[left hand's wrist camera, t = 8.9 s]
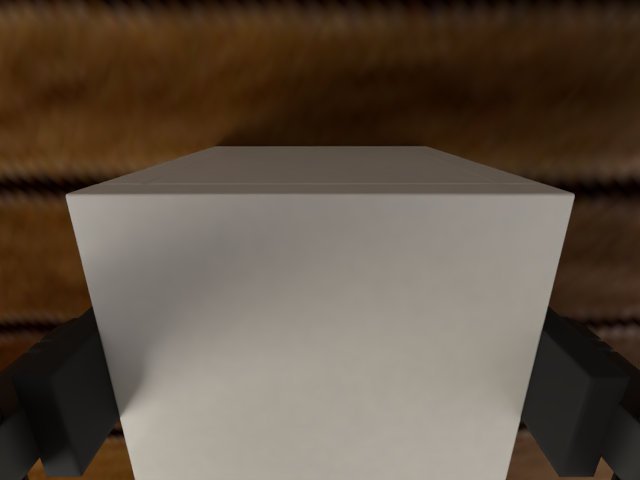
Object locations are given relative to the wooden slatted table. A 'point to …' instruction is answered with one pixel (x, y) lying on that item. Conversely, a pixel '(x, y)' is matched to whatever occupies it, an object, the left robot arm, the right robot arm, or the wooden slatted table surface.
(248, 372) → the cabinet
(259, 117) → the wooden slatted table surface
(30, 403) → the left robot arm
